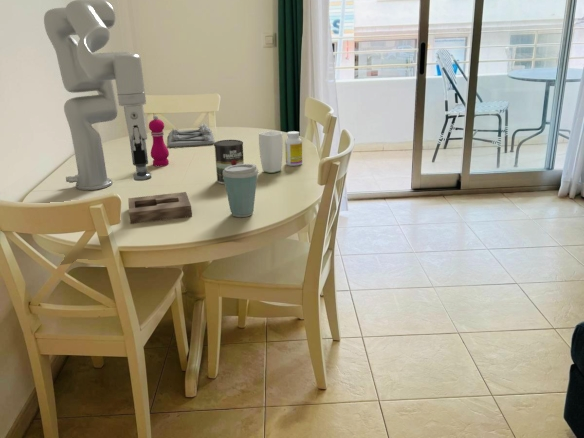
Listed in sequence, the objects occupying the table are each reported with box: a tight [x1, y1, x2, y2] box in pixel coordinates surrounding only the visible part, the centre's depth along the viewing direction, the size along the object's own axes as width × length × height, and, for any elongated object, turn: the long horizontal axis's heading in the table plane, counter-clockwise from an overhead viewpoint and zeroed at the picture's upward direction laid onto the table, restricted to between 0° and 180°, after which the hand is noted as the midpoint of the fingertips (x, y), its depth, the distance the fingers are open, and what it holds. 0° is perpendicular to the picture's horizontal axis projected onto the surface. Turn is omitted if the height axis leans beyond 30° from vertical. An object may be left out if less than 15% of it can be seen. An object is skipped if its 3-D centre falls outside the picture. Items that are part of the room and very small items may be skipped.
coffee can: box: [213, 139, 245, 185], centre depth 195 cm, size 10×10×14 cm
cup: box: [258, 130, 284, 174], centre depth 204 cm, size 7×7×15 cm
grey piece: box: [167, 123, 216, 149], centre depth 262 cm, size 30×22×7 cm
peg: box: [129, 136, 152, 182], centre depth 159 cm, size 5×5×13 cm
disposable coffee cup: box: [222, 163, 260, 218], centre depth 161 cm, size 11×11×15 cm
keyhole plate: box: [128, 191, 193, 225], centre depth 166 cm, size 18×14×4 cm
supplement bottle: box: [284, 130, 303, 167], centre depth 214 cm, size 7×7×13 cm
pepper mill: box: [148, 115, 170, 167], centre depth 217 cm, size 7×7×20 cm
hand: (140, 161), depth 160 cm, fingers closed on peg, 4 cm apart
